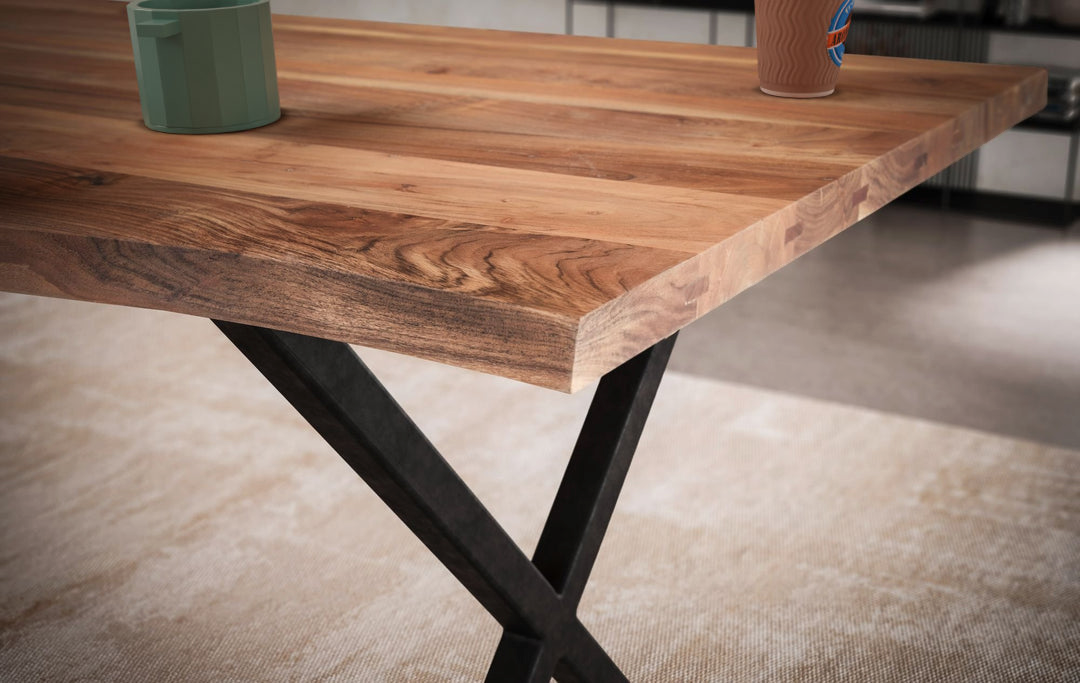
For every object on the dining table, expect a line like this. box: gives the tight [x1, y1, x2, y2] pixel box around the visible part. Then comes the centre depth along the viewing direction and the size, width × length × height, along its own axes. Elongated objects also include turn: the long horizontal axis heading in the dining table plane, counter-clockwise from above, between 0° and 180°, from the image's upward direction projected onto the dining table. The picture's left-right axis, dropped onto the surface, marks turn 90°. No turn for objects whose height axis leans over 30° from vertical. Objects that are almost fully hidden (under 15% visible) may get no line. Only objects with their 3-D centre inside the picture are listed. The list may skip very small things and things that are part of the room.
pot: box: [126, 0, 282, 135], centre depth 101 cm, size 12×17×10 cm
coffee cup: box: [754, 0, 855, 99], centre depth 109 cm, size 10×10×12 cm
